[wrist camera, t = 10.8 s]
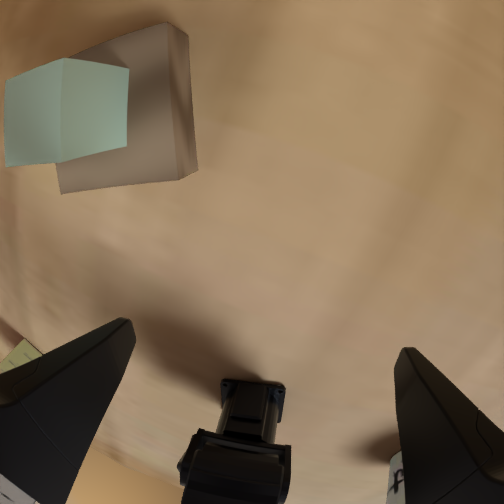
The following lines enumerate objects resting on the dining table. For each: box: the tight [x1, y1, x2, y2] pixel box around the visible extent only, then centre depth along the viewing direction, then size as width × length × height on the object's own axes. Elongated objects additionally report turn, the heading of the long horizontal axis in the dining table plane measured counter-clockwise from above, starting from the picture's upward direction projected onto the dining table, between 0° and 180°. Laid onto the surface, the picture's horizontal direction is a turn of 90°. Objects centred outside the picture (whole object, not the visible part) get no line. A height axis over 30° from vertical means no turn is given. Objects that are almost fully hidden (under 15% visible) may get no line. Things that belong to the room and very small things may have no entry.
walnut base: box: [56, 22, 198, 194], centre depth 18 cm, size 10×10×4 cm
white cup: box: [386, 451, 405, 504], centre depth 28 cm, size 10×15×10 cm
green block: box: [4, 58, 129, 167], centre depth 13 cm, size 5×5×6 cm
